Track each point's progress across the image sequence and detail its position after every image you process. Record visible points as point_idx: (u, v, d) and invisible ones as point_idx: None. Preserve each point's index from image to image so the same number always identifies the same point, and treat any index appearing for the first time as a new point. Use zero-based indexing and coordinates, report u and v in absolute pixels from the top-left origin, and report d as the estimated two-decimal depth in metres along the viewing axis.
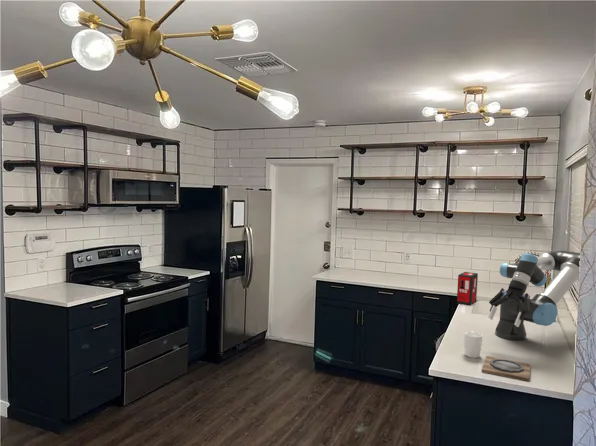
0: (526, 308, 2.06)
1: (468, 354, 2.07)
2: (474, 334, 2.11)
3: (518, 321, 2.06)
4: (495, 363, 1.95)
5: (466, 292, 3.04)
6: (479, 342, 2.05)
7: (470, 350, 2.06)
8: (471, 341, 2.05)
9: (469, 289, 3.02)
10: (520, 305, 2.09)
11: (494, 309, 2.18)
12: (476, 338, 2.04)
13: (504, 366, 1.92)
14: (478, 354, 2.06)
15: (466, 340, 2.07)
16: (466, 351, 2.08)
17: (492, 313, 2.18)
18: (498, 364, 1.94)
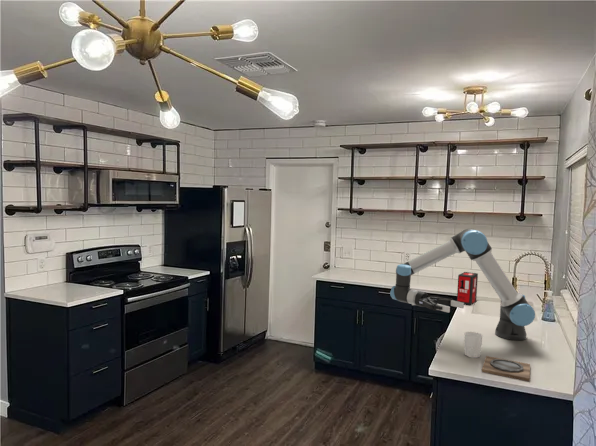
0: None
1: (468, 354, 2.07)
2: (474, 334, 2.11)
3: (444, 309, 2.11)
4: (495, 363, 1.95)
5: (466, 292, 3.04)
6: (479, 342, 2.05)
7: (470, 350, 2.06)
8: (471, 341, 2.05)
9: (469, 289, 3.02)
10: None
11: (453, 304, 2.22)
12: (476, 338, 2.04)
13: (504, 366, 1.92)
14: (478, 354, 2.06)
15: (466, 340, 2.07)
16: (466, 351, 2.08)
17: (457, 305, 2.20)
18: (498, 364, 1.94)
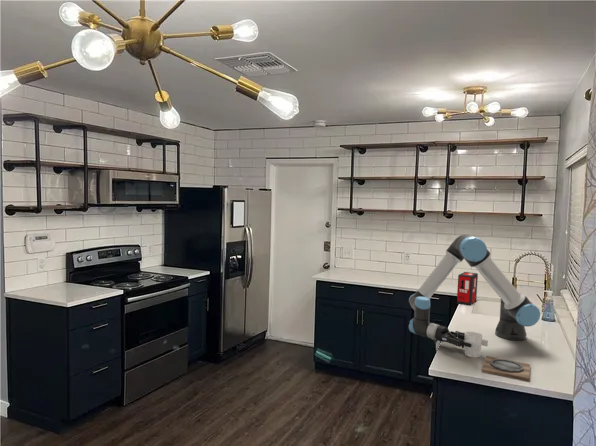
0: None
1: (468, 354, 2.07)
2: (474, 334, 2.11)
3: (473, 346, 2.03)
4: (495, 363, 1.95)
5: (466, 292, 3.04)
6: (479, 342, 2.05)
7: (470, 350, 2.06)
8: (471, 341, 2.05)
9: (469, 289, 3.02)
10: None
11: None
12: (476, 338, 2.04)
13: (504, 366, 1.92)
14: (478, 354, 2.06)
15: (466, 340, 2.07)
16: (466, 351, 2.08)
17: None
18: (498, 364, 1.94)
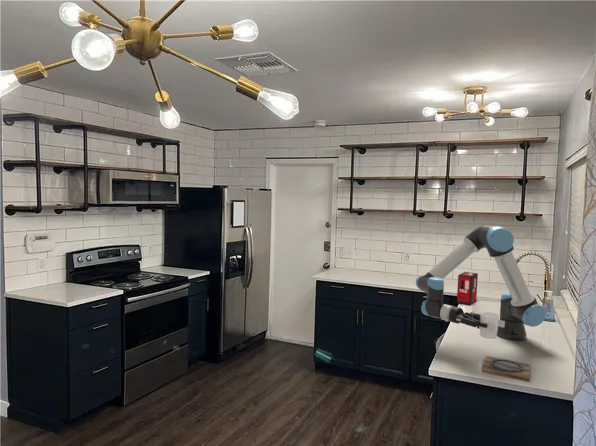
0: None
1: (484, 335, 1.97)
2: (490, 315, 2.02)
3: (490, 327, 1.94)
4: (495, 363, 1.95)
5: (466, 292, 3.04)
6: (495, 322, 1.95)
7: (486, 331, 1.96)
8: (487, 321, 1.96)
9: (469, 289, 3.02)
10: None
11: None
12: (492, 318, 1.95)
13: (504, 366, 1.92)
14: (494, 335, 1.96)
15: (482, 320, 1.98)
16: (482, 332, 1.98)
17: None
18: (498, 364, 1.94)
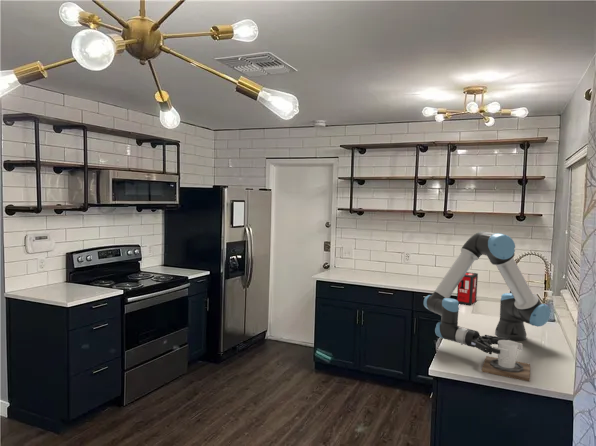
0: None
1: (502, 364, 1.91)
2: (508, 342, 1.95)
3: (502, 353, 1.87)
4: (495, 363, 1.95)
5: (466, 292, 3.04)
6: (514, 351, 1.89)
7: (505, 360, 1.90)
8: None
9: (469, 289, 3.02)
10: None
11: None
12: (511, 347, 1.88)
13: None
14: (513, 364, 1.90)
15: None
16: (500, 361, 1.92)
17: None
18: None
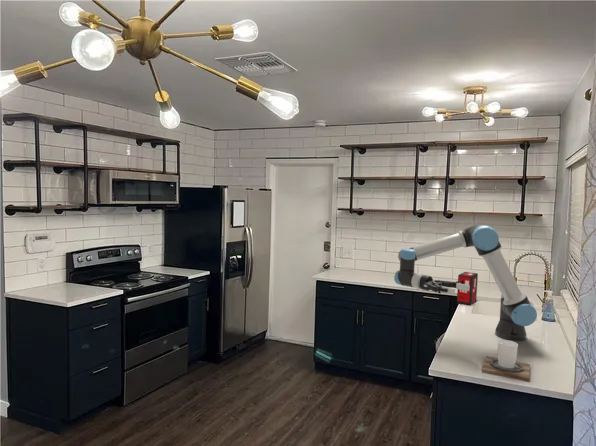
0: None
1: (502, 364, 1.91)
2: (508, 342, 1.95)
3: (449, 291, 2.07)
4: (495, 363, 1.95)
5: (466, 292, 3.04)
6: (514, 351, 1.89)
7: (505, 360, 1.90)
8: (505, 350, 1.89)
9: (469, 289, 3.02)
10: None
11: (459, 286, 2.18)
12: (511, 347, 1.88)
13: None
14: (513, 364, 1.90)
15: (500, 349, 1.91)
16: (500, 361, 1.92)
17: (463, 288, 2.17)
18: None
